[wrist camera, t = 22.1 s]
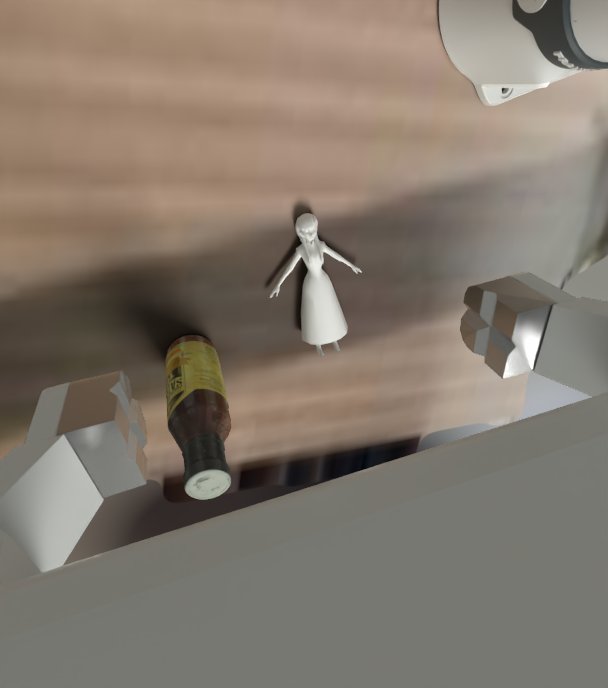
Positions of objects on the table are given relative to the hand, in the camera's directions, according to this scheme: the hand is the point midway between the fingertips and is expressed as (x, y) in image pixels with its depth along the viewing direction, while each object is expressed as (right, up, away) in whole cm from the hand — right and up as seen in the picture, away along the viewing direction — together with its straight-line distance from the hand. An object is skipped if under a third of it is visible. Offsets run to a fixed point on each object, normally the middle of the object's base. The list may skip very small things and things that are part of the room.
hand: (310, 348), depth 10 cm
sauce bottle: (-14, -1, +42) cm, 45 cm away
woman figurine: (+1, +8, +42) cm, 43 cm away
